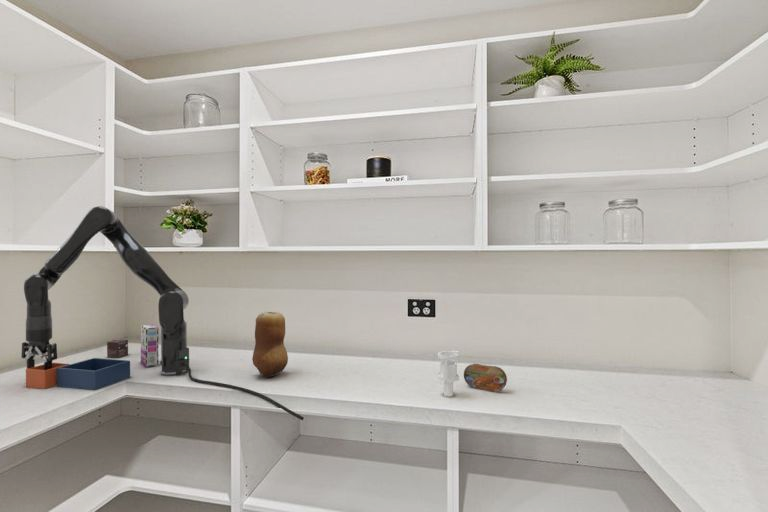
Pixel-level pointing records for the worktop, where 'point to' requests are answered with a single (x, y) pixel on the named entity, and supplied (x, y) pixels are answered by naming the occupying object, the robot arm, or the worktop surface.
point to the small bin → (42, 376)
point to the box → (117, 348)
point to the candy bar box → (149, 345)
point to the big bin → (93, 373)
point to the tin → (485, 377)
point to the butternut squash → (270, 344)
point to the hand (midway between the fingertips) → (39, 370)
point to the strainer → (448, 370)
